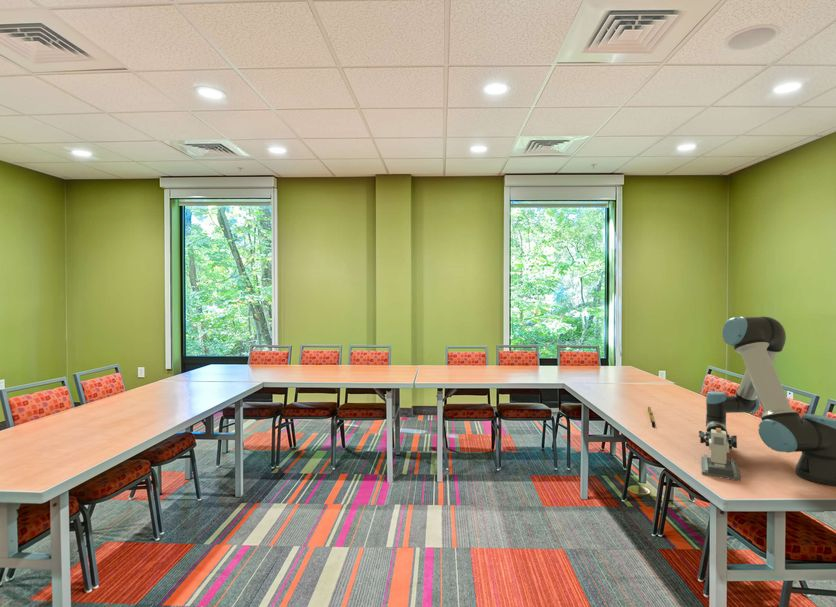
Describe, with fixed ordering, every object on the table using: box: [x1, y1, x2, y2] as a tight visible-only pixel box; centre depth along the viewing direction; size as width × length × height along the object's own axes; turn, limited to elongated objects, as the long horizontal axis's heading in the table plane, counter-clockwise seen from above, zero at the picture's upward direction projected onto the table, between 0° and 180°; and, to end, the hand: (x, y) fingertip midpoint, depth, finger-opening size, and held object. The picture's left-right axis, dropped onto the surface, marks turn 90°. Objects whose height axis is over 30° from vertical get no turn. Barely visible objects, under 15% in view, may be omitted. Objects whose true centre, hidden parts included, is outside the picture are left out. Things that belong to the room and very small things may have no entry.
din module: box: [710, 428, 727, 464], centre depth 176 cm, size 5×5×13 cm
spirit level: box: [647, 406, 656, 428], centre depth 244 cm, size 33×1×3 cm, turn 155°
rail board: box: [700, 454, 741, 481], centre depth 173 cm, size 12×19×3 cm, turn 148°
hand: (719, 447), depth 172 cm, fingers closed on din module, 5 cm apart
